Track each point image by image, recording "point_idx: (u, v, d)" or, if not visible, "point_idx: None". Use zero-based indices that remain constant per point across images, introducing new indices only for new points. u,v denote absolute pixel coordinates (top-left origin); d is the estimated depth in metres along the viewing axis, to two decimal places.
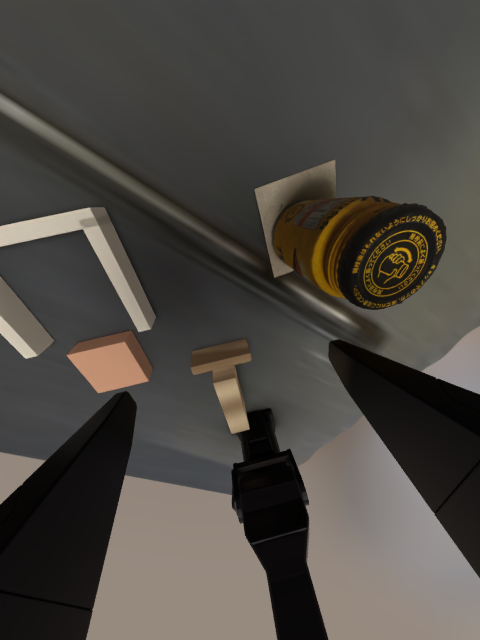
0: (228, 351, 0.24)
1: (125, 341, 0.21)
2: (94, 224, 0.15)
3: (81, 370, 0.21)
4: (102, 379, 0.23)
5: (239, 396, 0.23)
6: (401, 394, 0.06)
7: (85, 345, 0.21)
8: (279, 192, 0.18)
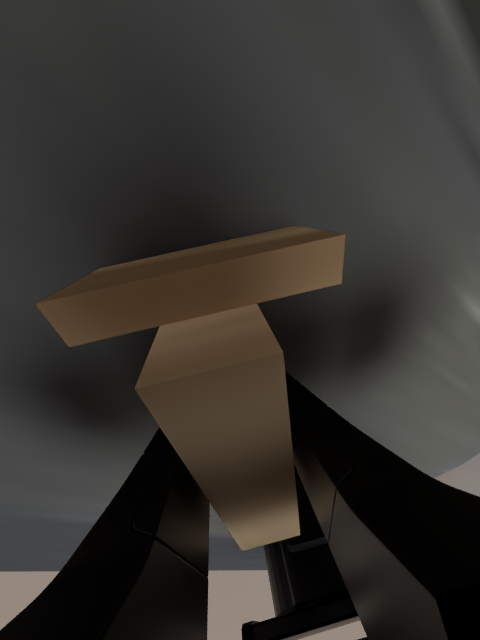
0: (234, 248, 0.05)
1: None
2: None
3: None
4: None
5: (286, 450, 0.05)
6: (291, 422, 0.05)
7: None
8: None
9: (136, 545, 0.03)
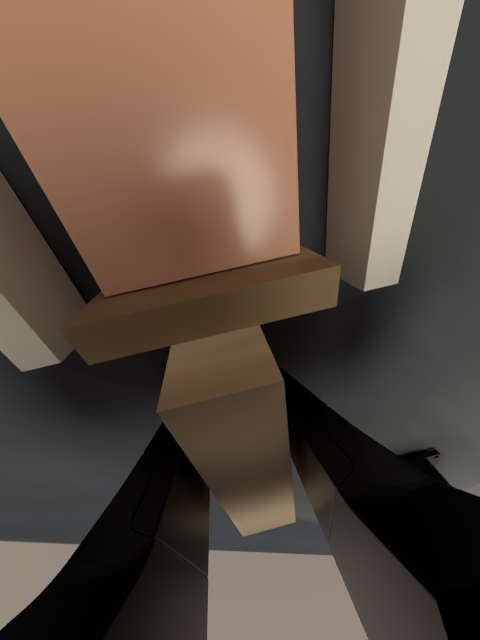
0: (238, 271, 0.06)
1: None
2: None
3: (17, 123, 0.04)
4: (123, 215, 0.05)
5: (285, 455, 0.06)
6: (291, 422, 0.05)
7: None
8: None
9: (137, 545, 0.03)
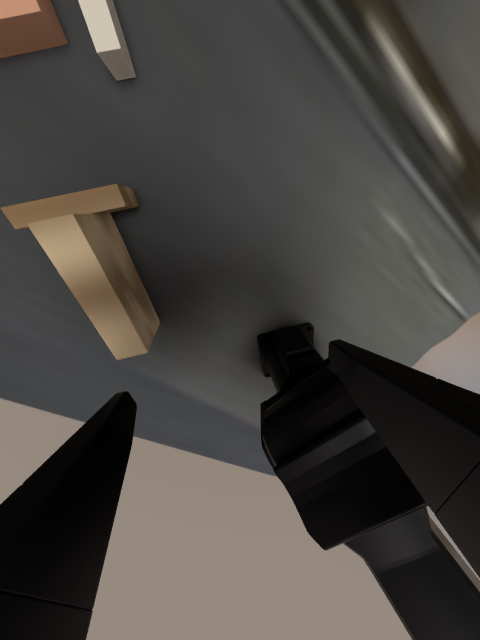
0: None
1: None
2: None
3: None
4: None
5: (100, 269, 0.12)
6: (401, 394, 0.06)
7: None
8: None
9: None
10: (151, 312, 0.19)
